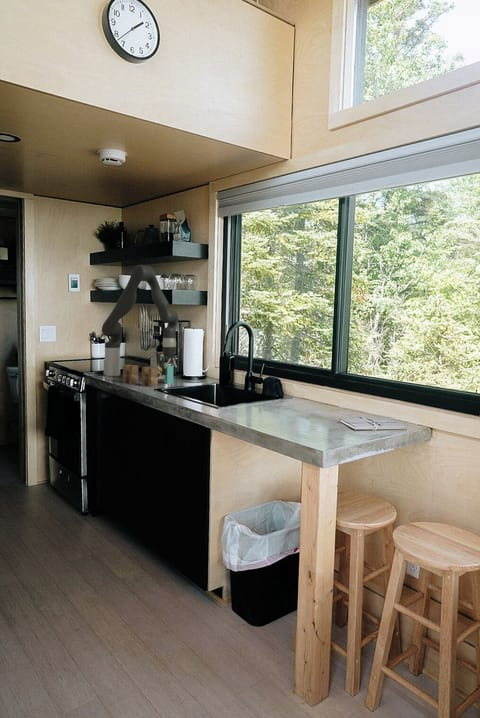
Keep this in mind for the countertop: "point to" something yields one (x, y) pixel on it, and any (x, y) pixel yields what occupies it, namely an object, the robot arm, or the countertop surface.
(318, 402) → the countertop surface
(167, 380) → the domino
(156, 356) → the coffee box
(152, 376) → the domino
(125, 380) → the domino
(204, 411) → the countertop surface
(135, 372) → the domino
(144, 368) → the domino
